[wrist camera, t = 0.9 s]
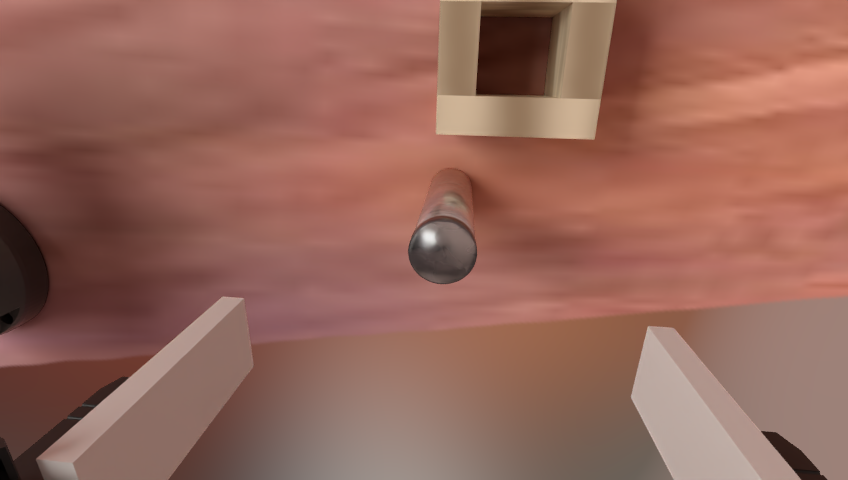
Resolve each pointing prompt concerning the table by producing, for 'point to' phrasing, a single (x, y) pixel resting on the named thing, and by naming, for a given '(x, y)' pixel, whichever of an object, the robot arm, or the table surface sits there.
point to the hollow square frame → (565, 76)
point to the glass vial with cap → (445, 230)
